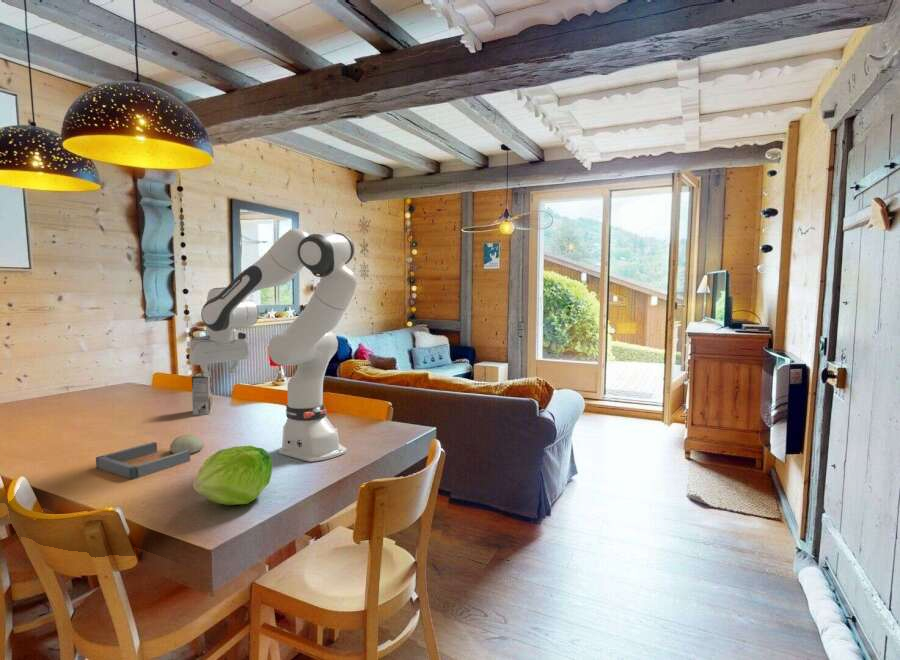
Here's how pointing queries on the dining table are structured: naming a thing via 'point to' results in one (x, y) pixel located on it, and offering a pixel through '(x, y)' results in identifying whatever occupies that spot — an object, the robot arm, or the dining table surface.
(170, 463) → the bay
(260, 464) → the lettuce
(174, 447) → the sea urchin shell
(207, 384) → the coffee box
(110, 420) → the dining table surface
